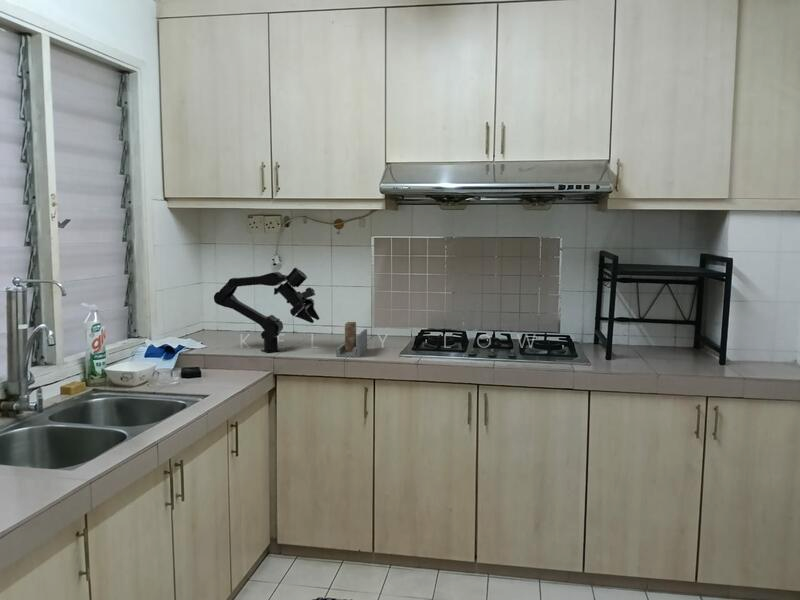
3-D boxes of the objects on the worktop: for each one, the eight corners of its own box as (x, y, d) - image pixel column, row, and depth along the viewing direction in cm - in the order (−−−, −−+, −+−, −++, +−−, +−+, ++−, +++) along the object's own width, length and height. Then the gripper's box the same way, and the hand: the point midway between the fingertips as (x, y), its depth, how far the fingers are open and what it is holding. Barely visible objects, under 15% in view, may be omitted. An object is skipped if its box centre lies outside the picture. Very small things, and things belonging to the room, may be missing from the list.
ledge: (336, 356, 266) (336, 335, 265) (345, 348, 284) (345, 328, 283) (359, 357, 265) (359, 336, 264) (367, 349, 283) (367, 329, 282)
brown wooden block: (344, 351, 272) (344, 323, 271) (347, 349, 278) (347, 321, 277) (354, 352, 271) (353, 324, 270) (356, 349, 277) (356, 321, 276)
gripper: (297, 283, 265) (323, 310, 265) (309, 280, 283) (334, 305, 283) (279, 302, 267) (305, 329, 267) (292, 297, 285) (316, 322, 285)
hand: (316, 320), depth 275 cm, fingers open, 9 cm apart
